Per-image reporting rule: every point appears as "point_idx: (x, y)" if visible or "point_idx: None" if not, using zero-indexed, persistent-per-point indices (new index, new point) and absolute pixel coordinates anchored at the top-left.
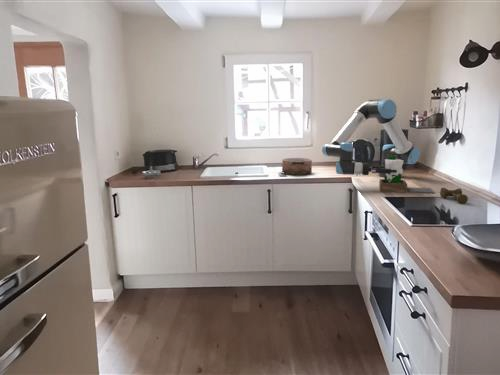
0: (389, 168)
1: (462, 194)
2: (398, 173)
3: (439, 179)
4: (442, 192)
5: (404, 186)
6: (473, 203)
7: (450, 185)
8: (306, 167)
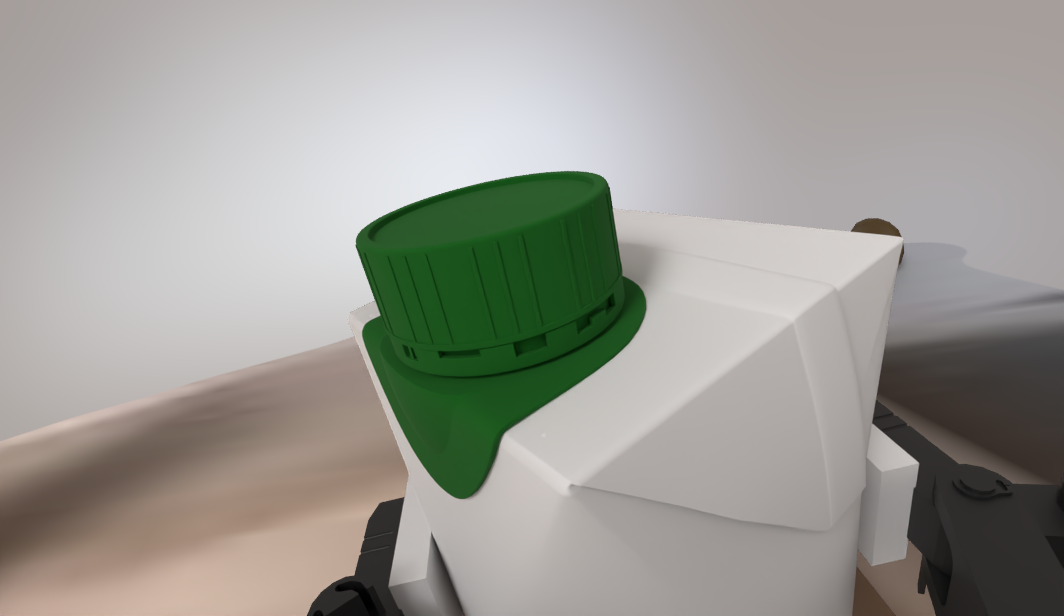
0: (858, 513)
1: (880, 219)
2: None
3: (89, 435)
4: None
5: None
6: None
7: (326, 369)
8: None
